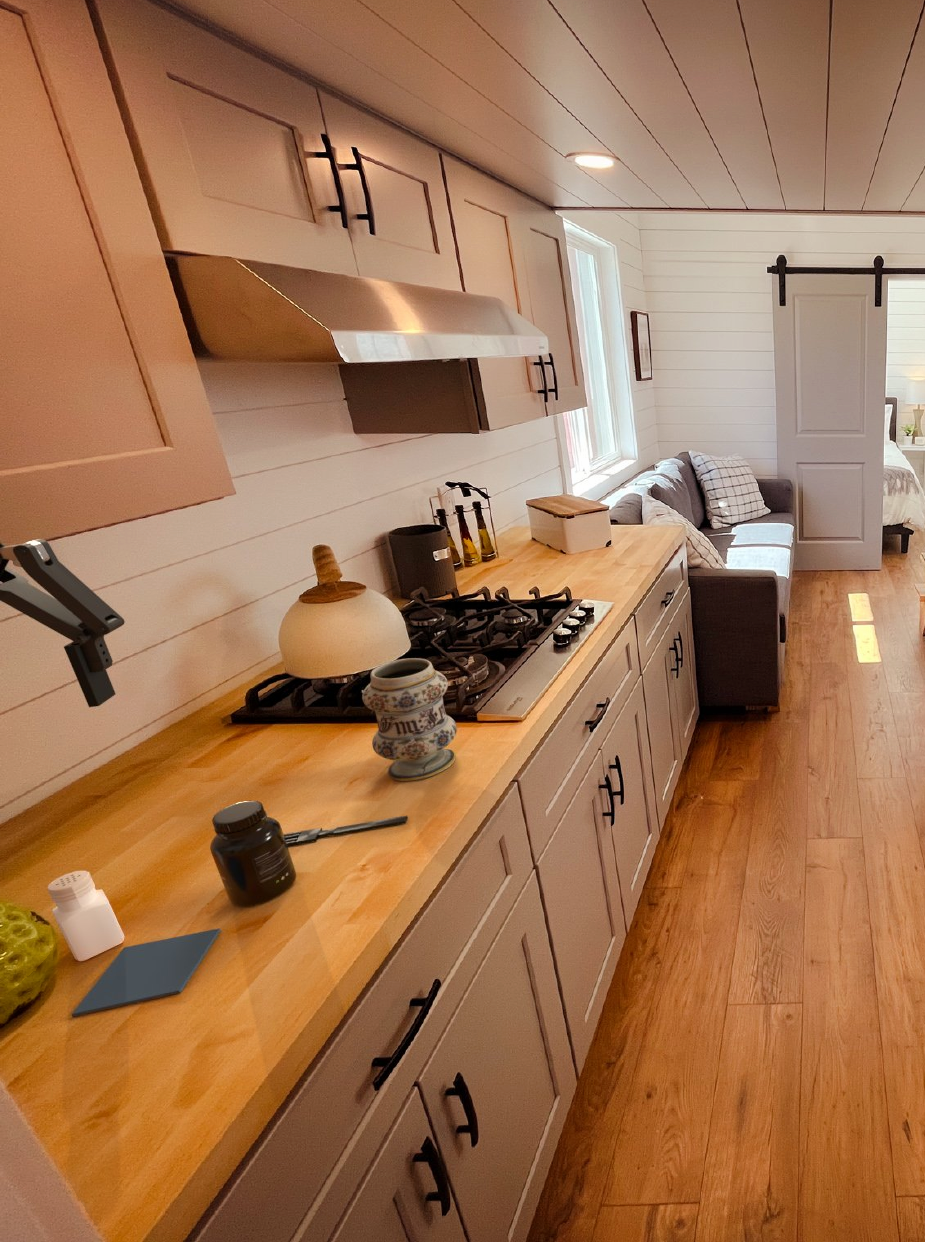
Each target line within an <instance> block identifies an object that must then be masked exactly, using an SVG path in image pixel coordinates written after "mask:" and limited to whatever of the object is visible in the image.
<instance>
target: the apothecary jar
mask: <svg viewBox="0 0 925 1242" xmlns="http://www.w3.org/2000/svg"><path fill="white" fill-rule="evenodd" d="M448 686H449V682H448V679H447V678H446V676H445V675H444V674H443V673H441V672H440V671H438V670H435V668H434V665H433V664H432V662H431V661H429V660H428V659H425V658H420V657H419V658H417V657H414V658H413V657H411V658H409V657H408V658H401V659H395V660H391V661H388V662H385V663H382V664H380V665H378V666H376V667H374V668H373V669H372V670H371V671H370V683H368V685H366V687H365V688H364V690H363V692H362V696H361V699H362V702H363V704H364V706H365V707H366V708H367V709H369V710H372V711H374V713H375V717H376V723H377V728H378V729H377V730H376V732H375V734H374V735H373V738H372V742H371V746H372V749H373V751H374V753H375V754H376V755H377V756H379V757H380V758H384V759H387V760H389V761H393V762H392V764H391V765H390V766H389V768H388V770H387V774H388V776H389V777H390V779H392V780H395V781H399V782H411V781H413V782H414V781H419V780H425V779H427V778H430V777H433V776H436V775H438V774H440V773H442V772H444V771H445V770H447V769H449V768H450V767H451V766H452V765H453V764H454V762H455V761H456V757H457V756H456V753H455V752H454V750H452V749H448V748H447V747H448V746H449V745H450V744H451V743H452V742H453V741H454V739H455V737H456V736H457V732H458V726H457V725H458V724H457V723H456V721H455V720H454V719H453V718H452V717H451V716H450V715H448V714H447V712H446V709H445V704H444V698H443V696H444V695H445V694H446V692H447V690H448Z"/></svg>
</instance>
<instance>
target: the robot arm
mask: <svg viewBox="0 0 925 1242" xmlns="http://www.w3.org/2000/svg"><path fill="white" fill-rule="evenodd" d="M10 561H12V565H13V566H15V567H17V568H22V569H23V570H24V572H25V573H26V574H27V575H28V576H29V577H30V578H31V579H32V580H33V581H34V582H35V583H37V584H38V586H40V587H41V588H42V589H43V590H45V591H46V592H47V593H46V592H45V591H42V590H41V589H38V588H37V587H35V586H34V585H33V584H30V583H29V579H28V578H26V577H25V576H23V575H22V574H20V573H18V572H16V571H14V570H12V568H9V567H7V566H8V564H9V562H10ZM0 582H1V583H0V602H2V603H4V604H6V605H8V606H9V607H11V608H12V609H15V610H16V611H18V612H20V613H22V614H23V615H24V616H27V617H29V618H31V619H33V620H34V621H36V622H38V623H39V624H42V626H43V625H44V627H47V628H49V629H50V630H51V631H54V632H56V633H57V634H59V635H61V636H63V637H65V638H66V639H68V640H70V641H71V642H69V643H67V644H66V645H63V649H64V651H65V654H66V657H67V658H68V660H69V663H70V665H71V668H72V670H73V672H74V675H75V677H76V680H77V682H78V685H79V687H80V689H81V692H82V694H83V696H84V699H85V701H86V703H87V706H88V708H96V707H100V706H101V705H103V704H104V703H106V702H107V701H108V700H110V699H111V698H113V697H114V696H115V695H117V693H116V691H115V689H114V687H113V684H112V681H111V679H110V676H109V674H108V672H107V670H108V669H109V668H111V667H112V666H113V657H112V656H111V653H110V651H109V648H108V645H107V643H106V640H105V636H107V635H109V634H110V633H113V632H114V631H115V630H117V629H119V628H120V627H121V628H122V626H124V625H125V619H124V618H123V617H122V616H121V615H120V614H119V613H118V612H117V611H116V610H115V609H113V608H112V607H111V606H110V605H109V604H108V603H106V602H105V601H104V600H103V599H102V598H101V597H100V596H99V595H97V594H96V593H95V592H94V591H93V590H92V589H91V588H90V587H89V586H88V585H86V583H85V582H83V581H82V580H81V579H80V578H78V576H76V575H75V574H74V573H73V572H72V571H71V570H70V569H69V568H67V566H65V565H64V564H63V563H62V562H60V560H59V559H58V557H57V555H56V553H55V552H54V550H53V548H52V546H51V545H50V543H49V542H48V541H47V540H45V539H42V538H37V539H33V540H29V541H26V542H24V543H19V544H13V545H5V544H4V543H2V542H1V541H0Z"/></svg>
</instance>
